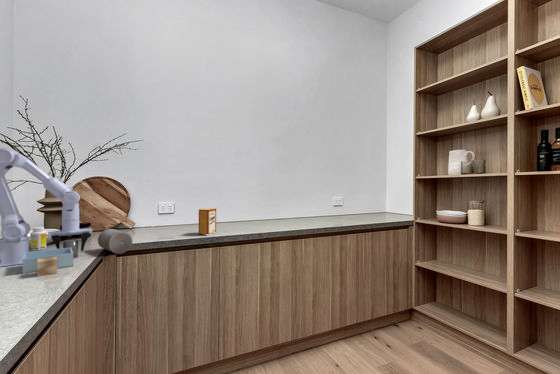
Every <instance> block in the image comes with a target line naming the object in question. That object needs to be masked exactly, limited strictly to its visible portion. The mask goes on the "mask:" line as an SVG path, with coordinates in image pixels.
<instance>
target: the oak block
mask: <svg viewBox="0 0 560 374" xmlns="http://www.w3.org/2000/svg"><path fill="white" fill-rule="evenodd" d="M36 273H37V277H38V278H39V277H44V276H51V275H56V274H58V269H57V256H56V257H49V258H41V259H38V261H37V272H36Z"/></svg>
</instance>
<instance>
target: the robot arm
mask: <svg viewBox="0 0 560 374" xmlns="http://www.w3.org/2000/svg"><path fill="white" fill-rule="evenodd" d="M14 167H15V168H19V169H23V170H25V171H26V172H28V173H29V174H31V175H32V176H34V177H35V178H37V180H40V181H41V183H43V188H44V189H46V190H47V191H48V192H49V193H50V194H52V195H53V196H55V198H57V199H60V202H61V203H62V210H61V230H55V231H54V230H53V231H48V232H47V238H51V240H52V242H53V243H54V245H55V249H61V245H60V244H61V243H60V242H61V241H60V240H61V238H60V237H61V236H62V237H63V236H74V235H80V238H81V239H80V241H81V242H80V243H81V244H80V252H84V249H85V245H86V242H87V241H88V239H89V236H90V234H92V233H93V228H80V203H79V201H80V200H81V197H80V194H79V193H78V191H76V190H74V189H73V187H69V186H68V185H67V184H66V183H64V179H62V178H58V177H54V176H53V177H51V176H50V175H49V174H47V173H46V172H45V171H44V170H43V169H41V168H40V167H39V166H38V165H37V164H35V163H34V162H33V161H32V160H30V159H29V158H28V157H26V156H24V155H22V154H21V153H19V152H18V151H16V150H13V149H9V148H7V147H0V217H1V220H0V226H1V231H0V235H1V237H2V238H3V239H2V241H0V268H1V267H2V268H3V267H10V266H17V265H23V256H24V253H26V252H30V236H28V234H29V233H31V232H30V231H31V225H30V224H29V223H27V222H26V220H25V218H24V217H23V215H21V213H20V211H19V209H18V206H17V203H16V201H15V199H14V197H13V194H12V191H11V188H10V186H9V183H8V182H7V179H6V176H5V175H6V174H7V173H8V172H9V171H10V170H11V169H12V168H14ZM40 181H39V182H40Z"/></svg>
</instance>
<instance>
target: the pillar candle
mask: <svg viewBox="0 0 560 374" xmlns="http://www.w3.org/2000/svg"><path fill="white" fill-rule="evenodd" d="M97 243H98V246H99V247H100V248H102V249H104V250H106V251H109V252H111V253H114V254H117V255H118V254H125V253H126V252H128V251H129V250H130V249H131V247H132V245H133V237H132V236H131V234H130V233H128V232H126V231H121V230H118V229H116V228H115V229H114V228H108V229H104V230H103V231H102V232H100V234H99V235H98V238H97Z"/></svg>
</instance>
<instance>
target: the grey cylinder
mask: <svg viewBox="0 0 560 374" xmlns="http://www.w3.org/2000/svg"><path fill="white" fill-rule="evenodd" d="M70 247H71V248H72V251H73V259H76V258H78V257H79V239H67V240H63V241H62V248H70Z"/></svg>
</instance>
